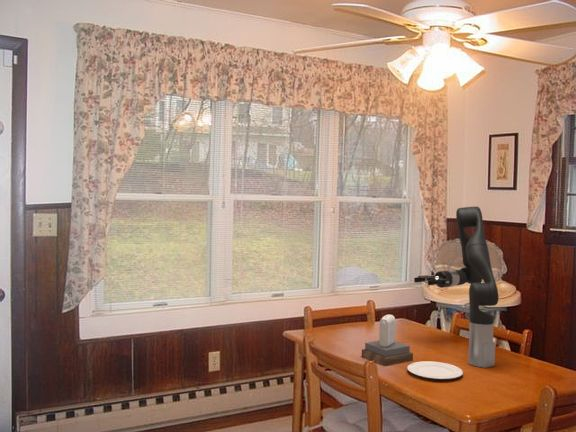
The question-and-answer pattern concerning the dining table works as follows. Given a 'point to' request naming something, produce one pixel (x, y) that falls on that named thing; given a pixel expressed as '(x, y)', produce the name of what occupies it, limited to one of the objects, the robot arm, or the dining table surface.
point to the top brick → (387, 349)
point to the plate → (435, 370)
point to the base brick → (387, 360)
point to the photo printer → (387, 331)
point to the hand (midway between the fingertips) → (421, 281)
